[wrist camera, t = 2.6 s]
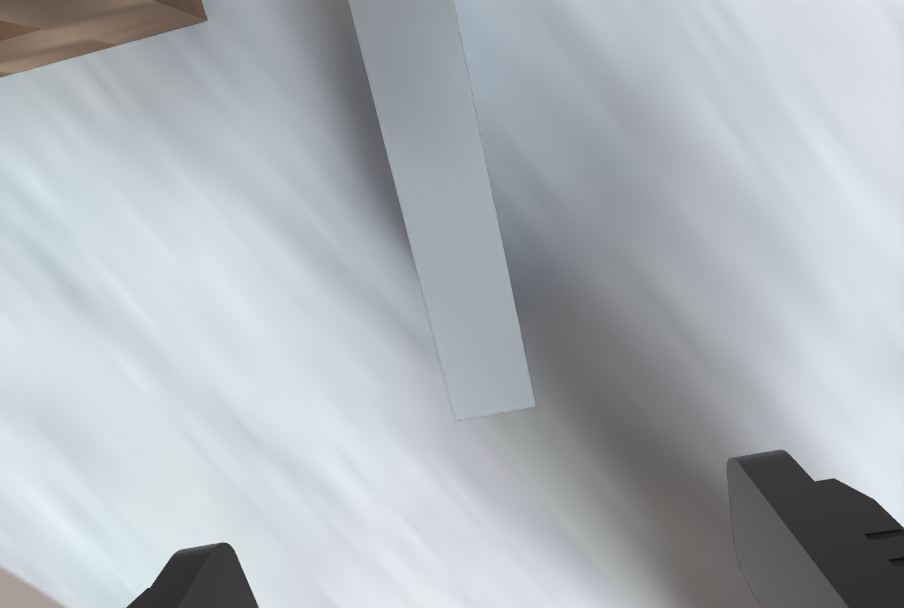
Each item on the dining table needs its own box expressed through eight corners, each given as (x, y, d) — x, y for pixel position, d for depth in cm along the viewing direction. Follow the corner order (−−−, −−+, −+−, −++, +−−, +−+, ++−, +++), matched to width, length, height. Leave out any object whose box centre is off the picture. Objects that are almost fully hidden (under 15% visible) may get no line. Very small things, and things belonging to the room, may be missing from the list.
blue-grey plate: (386, 10, 21) (335, -51, 14) (451, -7, 21) (436, -80, 13) (462, 329, 25) (454, 421, 17) (518, 318, 25) (535, 406, 17)
